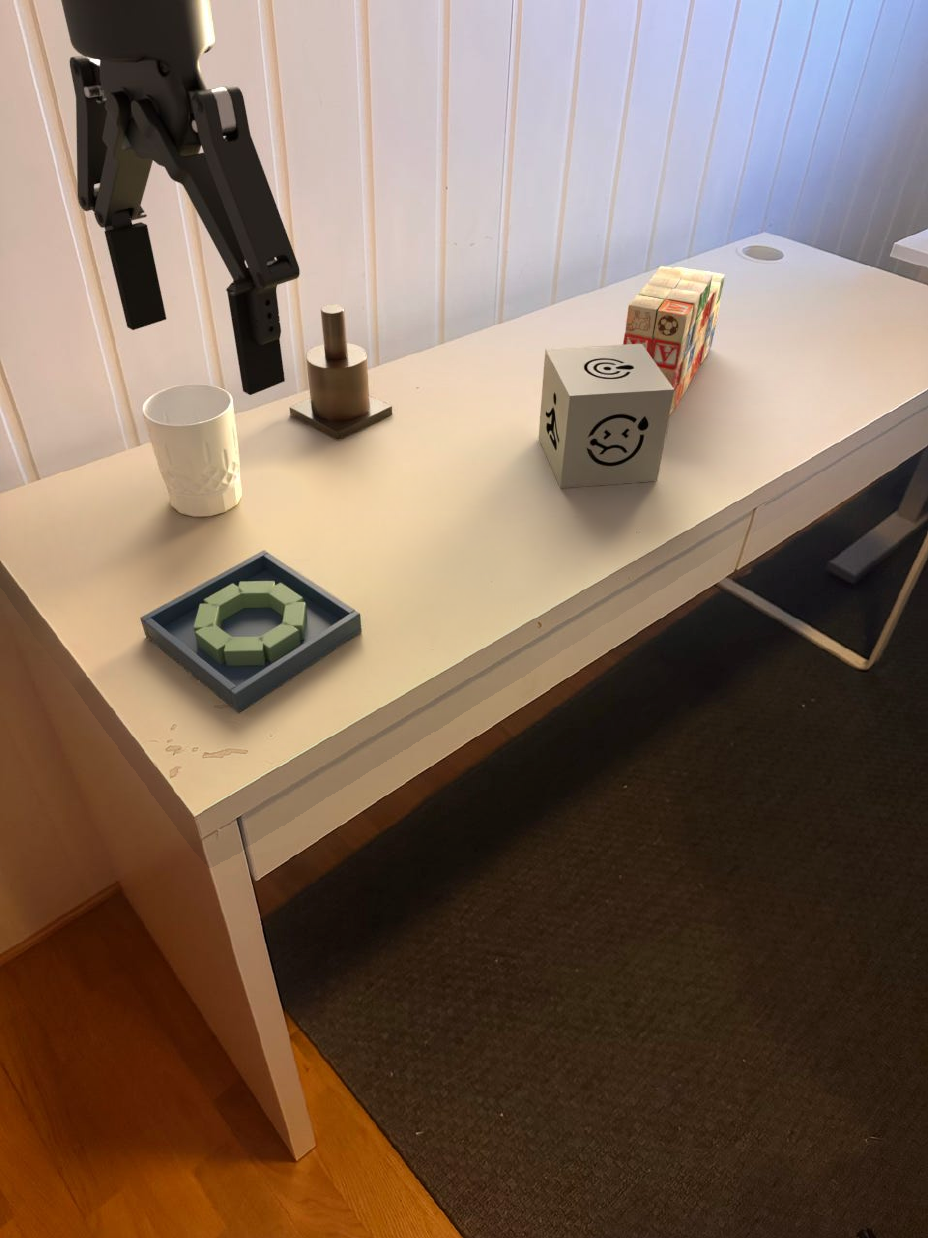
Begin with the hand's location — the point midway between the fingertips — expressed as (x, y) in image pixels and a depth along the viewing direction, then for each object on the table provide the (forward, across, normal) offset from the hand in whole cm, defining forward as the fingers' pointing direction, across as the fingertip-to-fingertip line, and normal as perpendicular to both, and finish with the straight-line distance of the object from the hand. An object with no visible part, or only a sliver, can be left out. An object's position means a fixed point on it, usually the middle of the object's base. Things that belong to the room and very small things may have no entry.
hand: (202, 353), depth 60 cm
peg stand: (+22, +19, -27) cm, 39 cm away
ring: (+22, -3, +2) cm, 22 cm away
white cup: (+22, +16, -7) cm, 28 cm away
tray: (+22, -3, +2) cm, 22 cm away
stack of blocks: (+22, -1, -60) cm, 64 cm away
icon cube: (+22, -7, -39) cm, 45 cm away
